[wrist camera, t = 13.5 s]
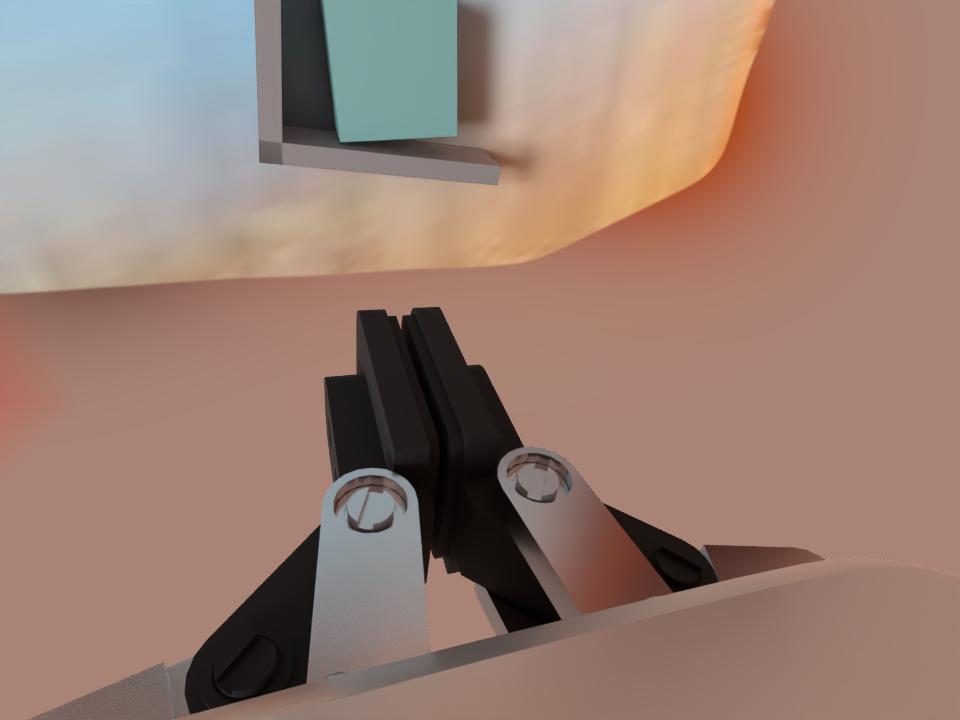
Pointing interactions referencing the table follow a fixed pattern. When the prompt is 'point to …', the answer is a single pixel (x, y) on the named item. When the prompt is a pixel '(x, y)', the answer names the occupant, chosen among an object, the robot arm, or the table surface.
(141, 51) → the table surface
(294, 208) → the table surface
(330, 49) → the teal square block
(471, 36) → the table surface
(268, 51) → the box
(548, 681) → the robot arm
